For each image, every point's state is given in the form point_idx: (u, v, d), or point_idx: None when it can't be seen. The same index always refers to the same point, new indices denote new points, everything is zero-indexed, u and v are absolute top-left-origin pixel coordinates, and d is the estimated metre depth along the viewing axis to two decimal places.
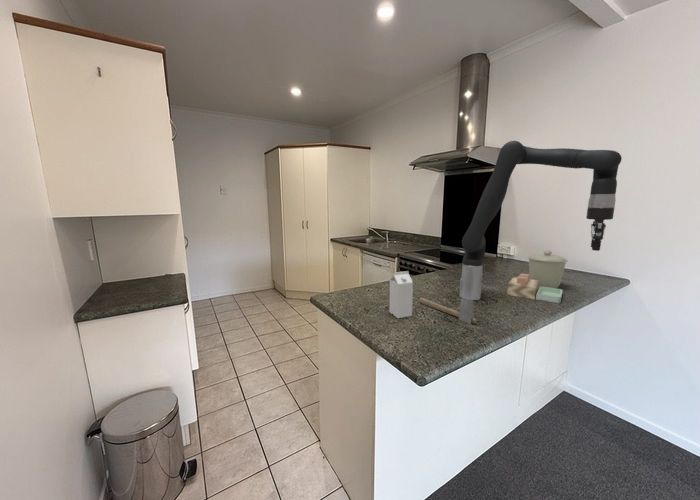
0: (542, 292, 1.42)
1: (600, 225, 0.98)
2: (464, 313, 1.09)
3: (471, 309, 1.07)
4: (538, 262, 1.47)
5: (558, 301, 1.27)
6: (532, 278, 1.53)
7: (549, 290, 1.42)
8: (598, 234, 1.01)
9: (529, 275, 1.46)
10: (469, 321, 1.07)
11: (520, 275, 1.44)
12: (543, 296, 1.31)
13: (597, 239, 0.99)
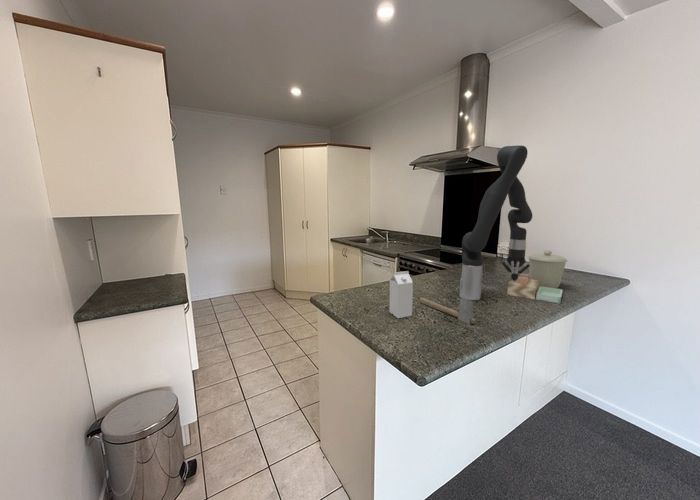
0: (542, 292, 1.42)
1: None
2: (463, 313, 1.09)
3: (470, 309, 1.06)
4: (538, 262, 1.47)
5: (558, 301, 1.27)
6: (532, 278, 1.53)
7: (549, 290, 1.42)
8: None
9: (529, 275, 1.46)
10: (468, 321, 1.07)
11: (520, 275, 1.44)
12: (543, 296, 1.31)
13: None
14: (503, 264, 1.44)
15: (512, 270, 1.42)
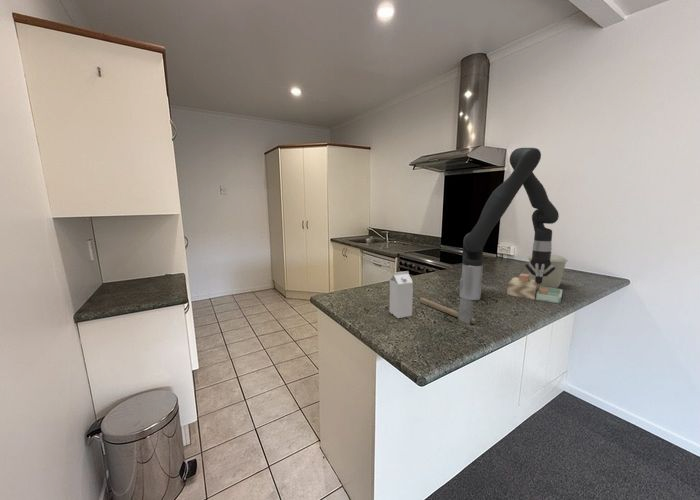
0: None
1: None
2: (463, 313, 1.09)
3: (470, 309, 1.06)
4: None
5: (558, 301, 1.27)
6: (532, 278, 1.53)
7: (549, 290, 1.42)
8: None
9: (529, 275, 1.46)
10: (468, 321, 1.07)
11: (520, 275, 1.44)
12: (543, 296, 1.31)
13: None
14: (526, 267, 1.38)
15: (536, 273, 1.35)
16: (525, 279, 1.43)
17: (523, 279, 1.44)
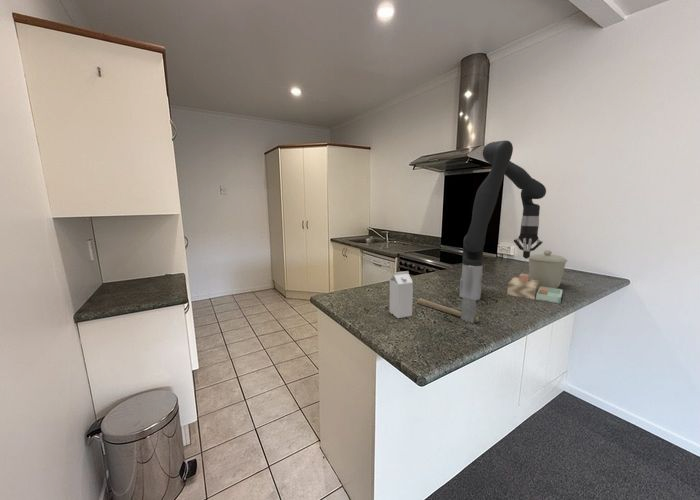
0: None
1: None
2: (466, 312, 1.10)
3: (474, 308, 1.08)
4: (538, 262, 1.47)
5: (558, 301, 1.27)
6: (532, 278, 1.53)
7: (549, 290, 1.42)
8: None
9: (529, 275, 1.46)
10: (472, 320, 1.08)
11: (520, 275, 1.44)
12: (543, 296, 1.31)
13: None
14: (515, 242, 1.42)
15: (524, 248, 1.40)
16: (525, 279, 1.43)
17: (523, 279, 1.44)
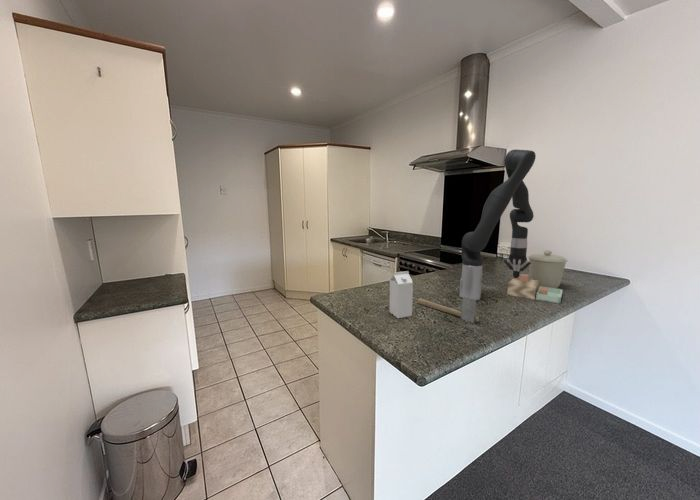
0: None
1: None
2: (466, 312, 1.10)
3: (474, 308, 1.08)
4: (538, 262, 1.47)
5: (558, 301, 1.27)
6: (532, 278, 1.53)
7: (549, 290, 1.42)
8: None
9: (529, 275, 1.46)
10: (472, 320, 1.08)
11: (520, 275, 1.44)
12: (543, 296, 1.31)
13: None
14: (505, 262, 1.49)
15: (514, 268, 1.47)
16: (525, 279, 1.43)
17: (523, 279, 1.43)
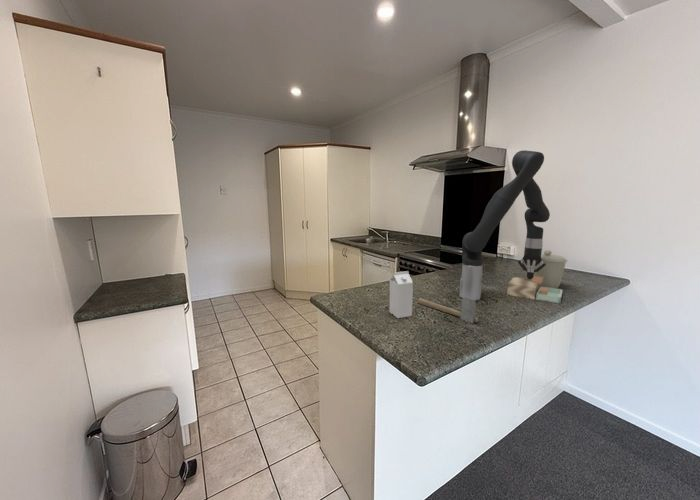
0: None
1: None
2: (466, 312, 1.10)
3: (473, 308, 1.07)
4: None
5: (558, 301, 1.27)
6: None
7: (549, 290, 1.42)
8: None
9: (543, 277, 1.42)
10: (471, 320, 1.08)
11: (534, 276, 1.40)
12: (543, 296, 1.31)
13: None
14: (519, 263, 1.45)
15: (528, 269, 1.43)
16: (539, 281, 1.39)
17: (537, 281, 1.40)
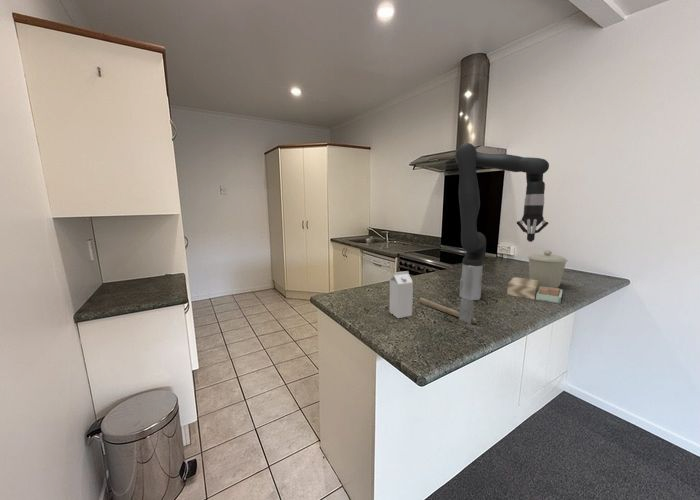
0: None
1: None
2: (464, 313, 1.09)
3: (471, 309, 1.07)
4: (538, 262, 1.47)
5: (558, 301, 1.27)
6: (532, 278, 1.53)
7: None
8: None
9: None
10: (469, 321, 1.07)
11: None
12: (543, 296, 1.31)
13: None
14: (518, 224, 1.29)
15: (528, 230, 1.27)
16: (551, 291, 1.37)
17: (553, 291, 1.36)
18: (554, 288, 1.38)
